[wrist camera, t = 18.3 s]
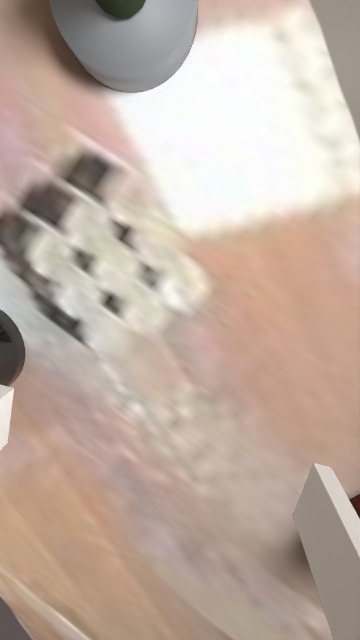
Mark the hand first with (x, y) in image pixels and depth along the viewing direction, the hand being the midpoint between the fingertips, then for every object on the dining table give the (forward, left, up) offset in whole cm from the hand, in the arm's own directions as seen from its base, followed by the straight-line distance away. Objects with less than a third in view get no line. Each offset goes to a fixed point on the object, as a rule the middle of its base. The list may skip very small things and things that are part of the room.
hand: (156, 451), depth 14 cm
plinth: (-15, +32, -35) cm, 50 cm away
